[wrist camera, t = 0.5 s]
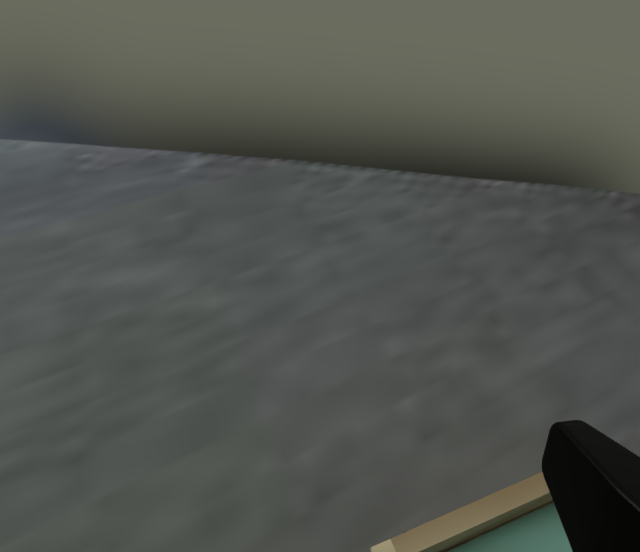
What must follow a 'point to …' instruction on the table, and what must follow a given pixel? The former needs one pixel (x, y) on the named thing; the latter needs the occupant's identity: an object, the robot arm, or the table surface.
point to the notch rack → (492, 525)
